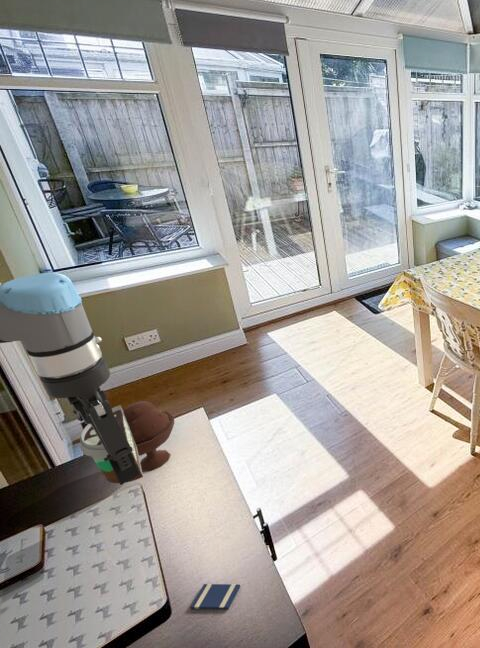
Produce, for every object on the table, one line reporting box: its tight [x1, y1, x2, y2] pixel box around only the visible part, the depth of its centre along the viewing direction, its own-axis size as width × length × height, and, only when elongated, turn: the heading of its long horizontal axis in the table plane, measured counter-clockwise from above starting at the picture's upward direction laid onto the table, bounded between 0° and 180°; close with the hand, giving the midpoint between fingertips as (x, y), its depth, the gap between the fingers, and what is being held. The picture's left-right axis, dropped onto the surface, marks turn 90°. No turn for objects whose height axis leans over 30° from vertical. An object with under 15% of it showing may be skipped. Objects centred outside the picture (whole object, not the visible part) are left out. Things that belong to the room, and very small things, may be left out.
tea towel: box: [190, 583, 241, 610], centre depth 68 cm, size 6×3×1 cm, turn 91°
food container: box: [79, 404, 144, 484], centre depth 75 cm, size 12×6×10 cm, turn 45°
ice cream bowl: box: [122, 400, 175, 472], centre depth 89 cm, size 11×11×15 cm
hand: (115, 461), depth 76 cm, fingers closed on food container, 12 cm apart
